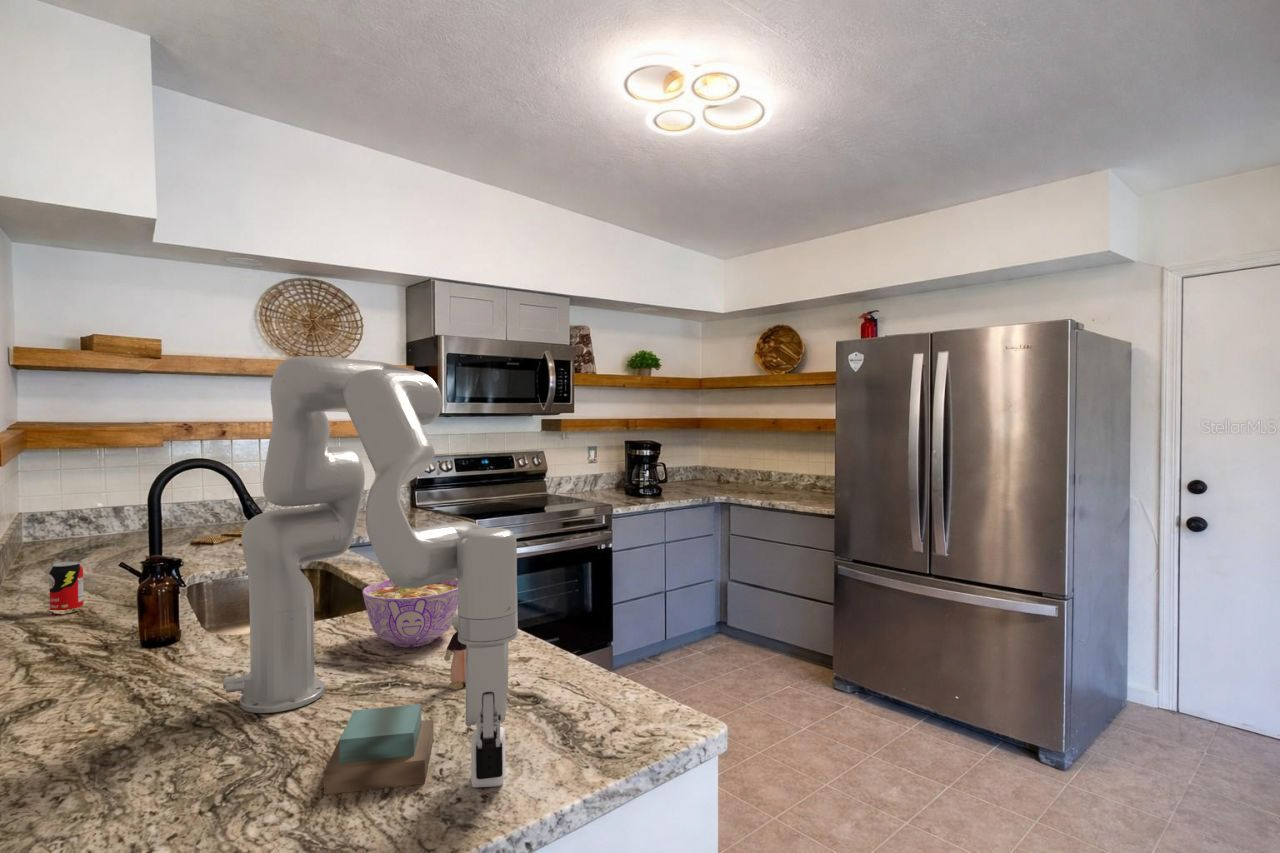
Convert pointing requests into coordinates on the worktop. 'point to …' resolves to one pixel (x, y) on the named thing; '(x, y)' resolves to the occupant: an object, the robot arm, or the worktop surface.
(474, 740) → the pepper shaker
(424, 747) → the square push button
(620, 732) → the worktop surface
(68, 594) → the beverage can
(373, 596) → the bowl of food
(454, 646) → the grandmother figurine
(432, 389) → the robot arm
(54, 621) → the worktop surface
